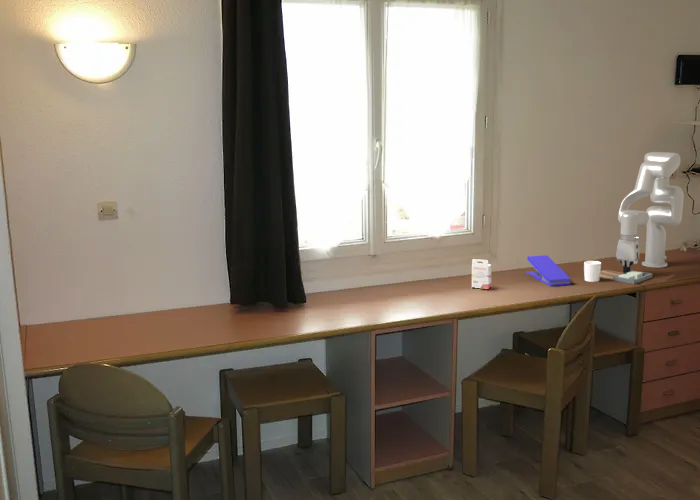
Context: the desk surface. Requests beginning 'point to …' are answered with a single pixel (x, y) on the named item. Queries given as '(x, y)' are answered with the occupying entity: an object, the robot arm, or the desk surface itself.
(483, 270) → the ink cartridge box
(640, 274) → the sage tile
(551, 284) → the stapler
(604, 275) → the walnut board
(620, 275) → the sage tile
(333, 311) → the desk surface
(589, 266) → the white cup
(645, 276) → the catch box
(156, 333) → the desk surface
